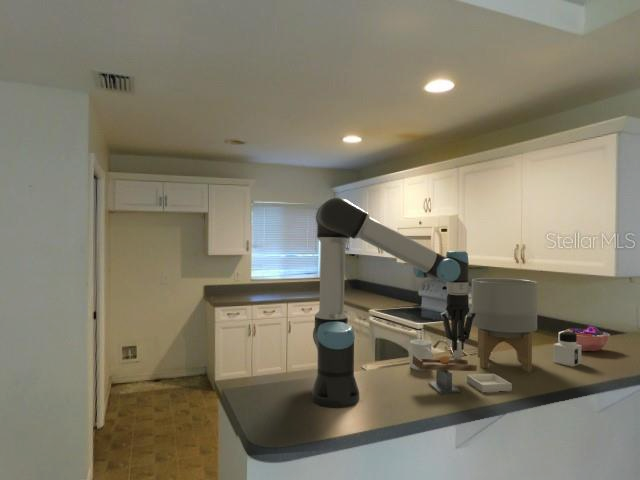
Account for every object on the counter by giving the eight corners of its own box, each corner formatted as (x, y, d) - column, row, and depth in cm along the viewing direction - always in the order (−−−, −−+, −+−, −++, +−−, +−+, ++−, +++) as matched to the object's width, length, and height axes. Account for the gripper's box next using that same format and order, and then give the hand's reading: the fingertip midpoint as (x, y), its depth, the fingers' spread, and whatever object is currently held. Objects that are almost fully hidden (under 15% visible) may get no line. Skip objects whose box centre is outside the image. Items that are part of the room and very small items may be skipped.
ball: (450, 366, 143) (442, 365, 143) (446, 363, 146) (438, 362, 146) (451, 356, 143) (442, 356, 143) (447, 354, 146) (438, 353, 146)
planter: (458, 359, 180) (458, 279, 180) (499, 352, 191) (499, 277, 191) (508, 376, 158) (508, 284, 158) (550, 367, 169) (551, 282, 169)
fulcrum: (440, 394, 139) (440, 373, 139) (428, 384, 149) (428, 364, 149) (460, 393, 140) (460, 372, 140) (447, 383, 150) (447, 363, 150)
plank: (420, 369, 140) (420, 360, 140) (406, 358, 152) (407, 350, 152) (476, 371, 142) (477, 362, 142) (458, 360, 155) (458, 352, 155)
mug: (441, 372, 162) (441, 345, 162) (422, 374, 159) (422, 347, 159) (423, 363, 173) (423, 338, 173) (406, 365, 171) (406, 340, 171)
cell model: (553, 346, 204) (553, 322, 204) (591, 345, 207) (591, 322, 207) (578, 355, 188) (578, 330, 188) (620, 354, 190) (620, 329, 190)
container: (581, 363, 175) (581, 332, 175) (572, 367, 170) (572, 334, 170) (562, 359, 181) (562, 329, 181) (553, 362, 177) (553, 331, 177)
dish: (482, 392, 141) (482, 384, 141) (466, 382, 151) (466, 374, 151) (511, 391, 142) (511, 383, 142) (494, 380, 153) (494, 373, 153)
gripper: (445, 295, 148) (445, 362, 148) (479, 294, 150) (480, 360, 150) (436, 292, 155) (436, 356, 155) (469, 291, 157) (469, 355, 157)
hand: (457, 358), depth 152 cm, fingers closed
